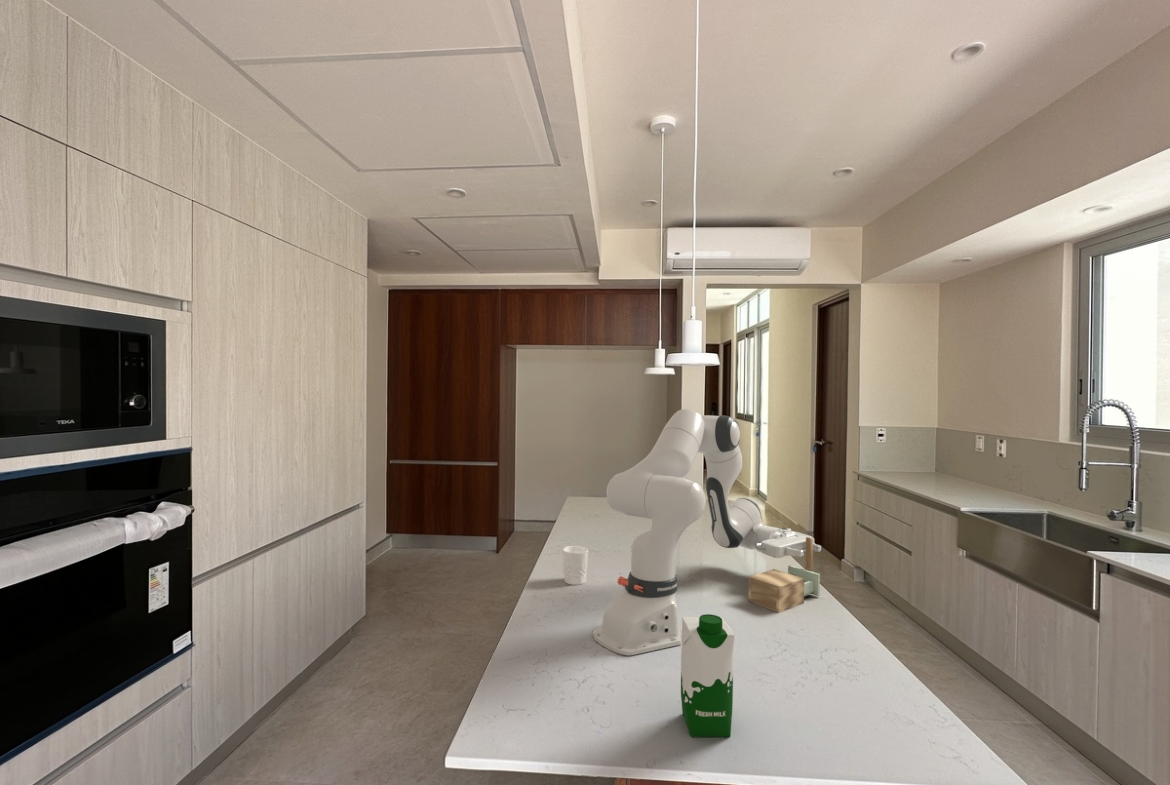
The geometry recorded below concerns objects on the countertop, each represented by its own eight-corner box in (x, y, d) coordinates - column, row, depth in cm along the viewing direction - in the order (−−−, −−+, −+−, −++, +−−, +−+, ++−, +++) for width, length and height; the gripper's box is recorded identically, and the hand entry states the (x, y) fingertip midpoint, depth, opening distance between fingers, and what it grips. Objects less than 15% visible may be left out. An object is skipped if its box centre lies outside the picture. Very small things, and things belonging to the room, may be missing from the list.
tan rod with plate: (796, 604, 156) (797, 549, 156) (765, 593, 164) (766, 541, 164) (825, 593, 165) (826, 541, 165) (795, 583, 173) (796, 533, 173)
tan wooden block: (778, 612, 151) (779, 586, 151) (748, 600, 159) (748, 576, 159) (803, 603, 159) (804, 578, 159) (773, 592, 167) (773, 569, 167)
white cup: (588, 577, 177) (589, 546, 177) (586, 586, 169) (587, 553, 169) (564, 576, 178) (564, 545, 178) (560, 585, 170) (561, 552, 170)
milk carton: (686, 740, 95) (688, 624, 95) (676, 710, 104) (678, 603, 104) (737, 740, 95) (739, 624, 95) (722, 710, 104) (724, 604, 104)
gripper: (752, 536, 173) (791, 546, 162) (790, 527, 185) (829, 536, 174) (751, 556, 173) (791, 567, 162) (789, 546, 185) (829, 556, 174)
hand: (811, 551), depth 168 cm, fingers open, 8 cm apart
